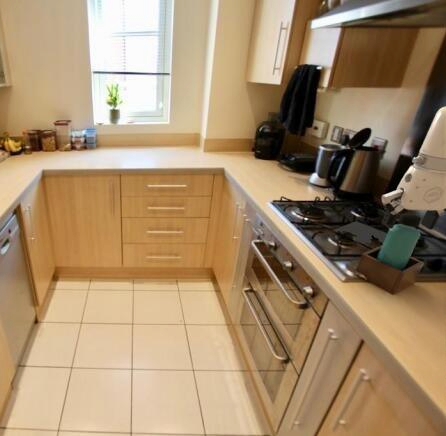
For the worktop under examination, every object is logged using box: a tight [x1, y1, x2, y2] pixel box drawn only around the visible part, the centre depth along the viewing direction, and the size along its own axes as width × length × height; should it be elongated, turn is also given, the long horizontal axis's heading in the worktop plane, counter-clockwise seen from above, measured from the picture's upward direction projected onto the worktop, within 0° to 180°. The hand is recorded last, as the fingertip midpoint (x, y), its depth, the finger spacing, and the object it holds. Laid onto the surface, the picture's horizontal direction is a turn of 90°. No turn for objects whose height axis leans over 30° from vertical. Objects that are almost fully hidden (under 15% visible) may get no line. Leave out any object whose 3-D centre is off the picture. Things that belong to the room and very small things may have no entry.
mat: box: [332, 220, 388, 244], centre depth 109 cm, size 14×14×1 cm
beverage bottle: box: [377, 212, 422, 271], centre depth 84 cm, size 6×7×20 cm
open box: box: [355, 245, 425, 296], centre depth 87 cm, size 10×10×7 cm
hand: (406, 226), depth 81 cm, fingers open, 9 cm apart
